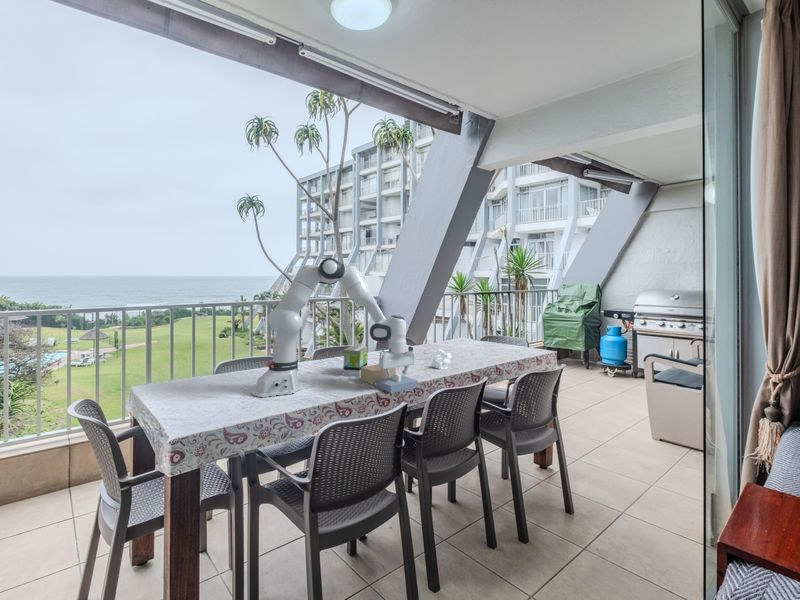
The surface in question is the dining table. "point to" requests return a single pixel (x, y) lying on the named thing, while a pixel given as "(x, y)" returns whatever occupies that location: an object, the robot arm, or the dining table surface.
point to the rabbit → (441, 360)
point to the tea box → (355, 360)
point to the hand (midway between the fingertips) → (397, 375)
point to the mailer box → (374, 373)
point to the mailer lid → (397, 383)
